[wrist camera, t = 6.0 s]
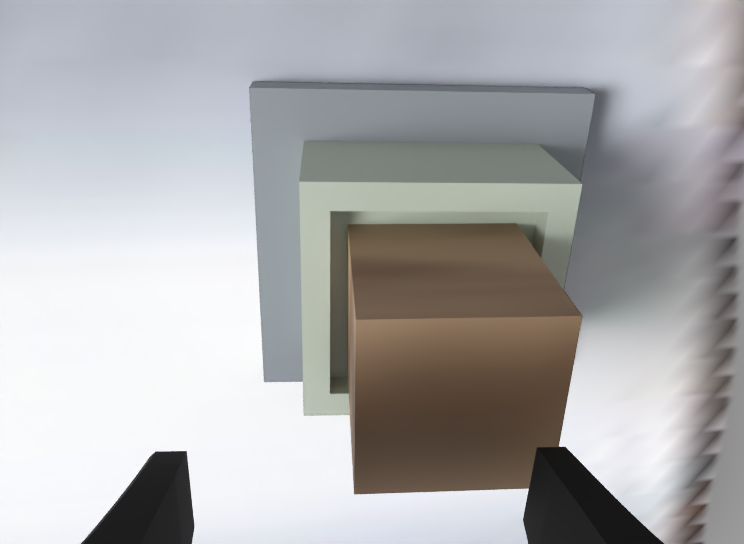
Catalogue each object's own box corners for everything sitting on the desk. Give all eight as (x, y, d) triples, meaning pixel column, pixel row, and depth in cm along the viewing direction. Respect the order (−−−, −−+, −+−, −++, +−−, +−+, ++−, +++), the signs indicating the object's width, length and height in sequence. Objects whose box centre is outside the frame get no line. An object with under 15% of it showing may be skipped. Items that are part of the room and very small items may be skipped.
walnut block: (499, 364, 20) (551, 487, 15) (347, 367, 19) (354, 494, 15) (516, 223, 18) (581, 316, 13) (347, 224, 17) (356, 319, 13)
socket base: (537, 362, 24) (583, 450, 20) (266, 365, 24) (253, 457, 19) (583, 87, 20) (654, 124, 16) (252, 81, 19) (231, 118, 15)
